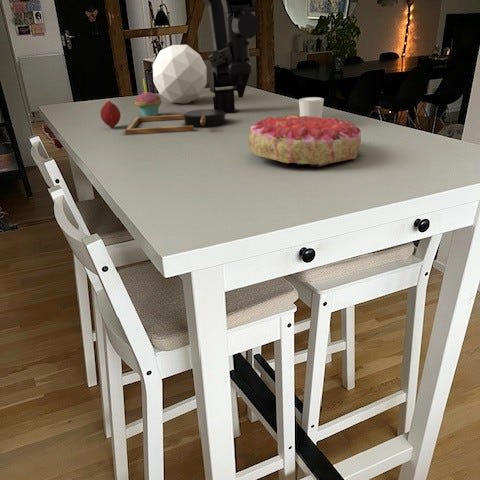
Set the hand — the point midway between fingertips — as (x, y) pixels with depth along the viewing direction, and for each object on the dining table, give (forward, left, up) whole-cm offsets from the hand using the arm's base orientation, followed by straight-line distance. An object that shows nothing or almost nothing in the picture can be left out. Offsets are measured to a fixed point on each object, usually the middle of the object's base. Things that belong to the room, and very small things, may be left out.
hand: (240, 97), depth 151 cm
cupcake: (+30, -18, -7) cm, 36 cm away
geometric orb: (+21, -42, -7) cm, 47 cm away
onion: (+39, -1, -7) cm, 40 cm away
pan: (+11, +4, -7) cm, 13 cm away
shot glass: (-19, +12, -7) cm, 24 cm away
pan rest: (+24, 0, -7) cm, 25 cm away
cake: (-13, +44, -7) cm, 46 cm away
